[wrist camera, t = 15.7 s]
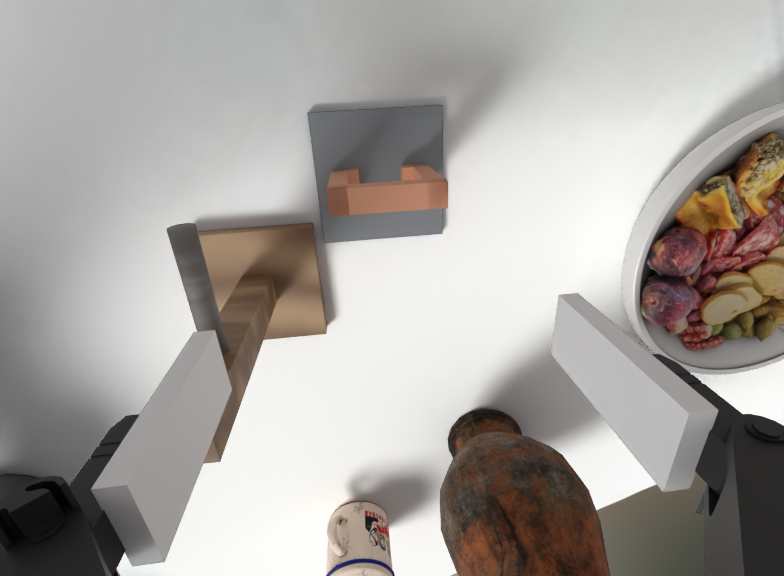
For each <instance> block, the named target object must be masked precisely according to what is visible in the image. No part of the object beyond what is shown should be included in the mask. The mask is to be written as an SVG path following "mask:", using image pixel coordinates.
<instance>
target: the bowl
mask: <svg viewBox="0 0 784 576" xmlns="http://www.w3.org/2000/svg"><path fill="white" fill-rule="evenodd" d="M622 296H623V301H624V306H625V309H626V313H627V315H628V318H629V320H630V322H631V324H632V326H633V328H634V330H635V331H636V333H637V334H638V336H639V337H640V338H641V340H642V341H643V342H644V343H645V344H646V345H647V346H648V347H649V348H650V349H651V350H652V351H653V352H654V353H655V354H661V355H663V356H665V357H667V358H669V359H671V360H673V361H675V362H677V363H678V364H679V365H681V366H682V367H683V368H685V369H686V370H687V371H690V372H695V373H701V374H731V373H738V372H744V371H749V370H753V369H757V368H760V367H763V366H766V365H769V364H772V363H775V362H777V361H780V360H782V359H784V102H783V103H779V104H776V105H773V106H770V107H767V108H764V109H761V110H759V111H756V112H754V113H752V114H749V115H747V116H745V117H743V118H741V119H739V120H737V121H735V122H733V123H731V124H730V125H728V126H726V127H725V128H723V129H721V130H720V131H718V132H717V133H715V134H714V135H712V136H711V137H709V138H708V139H706V140H705V141H704V142H702V143H701V144H700V145H698V146H697V147H696V148H695V149H694V150H692V151H691V152H690V153H689V154H688V155H687V156H686V157H684V158H683V159H682V160H681V161H680V162H679V163H678V164H677V165H676V166H675V167H674V168H673V169H672V170H671V171H670V173H669V174H668V175H667V176H666V177H665V178H664V179H663V181H662V182H661V183H660V184H659V186H658V187H657V188H656V190H655V191H654V192H653V194H652V195H651V197H650V198H649V200H648V201H647V203H646V204H645V206H644V208H643V209H642V211H641V213H640V215H639V217H638V219H637V221H636V223H635V225H634V227H633V230H632V232H631V235H630V238H629V241H628V244H627V247H626V251H625V255H624V260H623V266H622Z"/></svg>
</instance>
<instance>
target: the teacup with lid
mask: <svg viewBox="0 0 784 576" xmlns="http://www.w3.org/2000/svg"><path fill="white" fill-rule="evenodd" d="M327 534H328V551H327V572H326V576H395V575H394V572H393V570H392V562H391V551H390V540H389V529H388V519H387V515H386V513H385V512H384V510H383V509H381V508H380V507H379V506H377V505H375V504H372V503H368V502H354V503H349V504H346V505H344V506H342V507H340V508H339V509H337V510H336V511H335V512H334V513H333V514H332V516H331V518H330V520H329V523H328V529H327Z"/></svg>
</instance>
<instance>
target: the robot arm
mask: <svg viewBox="0 0 784 576" xmlns="http://www.w3.org/2000/svg"><path fill="white" fill-rule="evenodd" d="M551 354H552V356H553V357H554V358H555V359H556V361H557V362H558V363H559V364H560V366H561V367H562V368H563V369H564V370H565V372H566V373H567V374H568V375H569V377H570V378H571V379H572V380H573V382H574V383H575V384H576V385H577V386H578V388H579V389H580V390H581V391H582V393H583V394H584V395H585V396H586V398H587V399H588V400H589V401H590V402H591V404H592V405H593V406H594V407H595V409H596V410H597V411H598V412H599V414H600V415H601V416H602V417H603V418H604V420H605V421H606V422H607V423H608V425H609V426H610V427H611V428H612V430H613V431H614V432H615V433H616V434H617V436H618V437H619V438H620V439H621V441H622V442H623V443H624V444H625V446H626V447H627V448H628V449H629V450H630V452H631V453H632V454H633V455H634V457H635V458H636V459H637V460H638V462H639V463H640V464H641V465H642V466H643V468H644V469H645V470H646V471H647V473H648V474H649V475H650V476H651V478H652V479H653V480H654V481H655V482H656V484H657V485H658V486H659V487H660V489H661V490H662V491H663V492H667V491H674V490H682V489H688V488H690V487H691V484H692V481H693V478H694V475H695V473H696V472H697V473H698V475H699V476H700V477H701V478H702V479H703V480H704V481H705V482H706V483H707V485H706V488H705V490H704V493H703V496H702V498H701V501H700V504H699V506H698V508H697V511H696V513H698V514H701V513H702V511H703V509H704V576H784V426H783V425H781V424H779V423H777V422H776V421H773V420H770V419H768V418H765V417H762V416H757V415H752V414H742V413H740V412H739V411H738V410H737V409H735V408H734V407H733V406H731V405H730V404H729V403H728V402H726V401H725V400H724V399H723V398H721V397H720V396H719V395H717V394H716V393H715V392H714V391H712V390H711V389H710V388H709V387H707V386H706V385H705V384H702V383H701V381H700V380H698V379H697V378H696V377H695V376H693V375H690V372H688V371H687V370H686V369H685V368H683V367H682V366H681V365H679V364H678V363H677V362H675V361H673V360H671V359H669V358H667V357H665V356H663V355H661V354H650V353H649V352H648V351H647V350H646V349H644V348H643V347H642V346H641V345H640V344H638V343H637V342H636V341H635V340H634V339H632V338H631V337H630V336H629V335H627V334H626V333H625V332H624V331H623V330H621V329H620V328H619V327H618V326H617V325H615V324H614V323H613V322H612V321H611V320H609V319H608V318H607V317H606V316H605V315H603V314H602V313H601V312H600V311H598V310H597V309H596V308H595V307H594V306H592V305H591V304H590V303H589V302H588V301H586V300H585V299H584V298H583V297H582V296H580V295H579V294H578V293H574V294H564V295H559V296H558V304H557V312H556V319H555V327H554V334H553V342H552V350H551ZM231 391H232V388H231V384H230V381H229V377H228V374H227V370H226V367H225V363H224V360H223V356H222V353H221V349H220V346H219V342H218V339H217V335H216V332H215V330H211V331H201V332H194V333H193V334H192V336H191V337H190V339H189V340H188V342H187V343H186V345H185V346H184V348H183V349H182V351H181V352H180V354H179V355H178V357H177V358H176V360H175V362H174V363H173V365H172V366H171V368H170V369H169V371H168V372H167V374H166V375H165V377H164V378H163V380H162V381H161V383H160V384H159V386H158V387H157V389H156V391H155V392H154V394H153V395H152V397H151V398H150V400H149V401H148V403H147V404H146V406H145V407H144V409H143V410H142V412H141V413H140V414H139V415H130V416H126V417H124V418H123V419H122V420H121V421H120V422H118V423H117V424H116V425H115V426H114V427H112V428H111V429H110V430H109V432H108V433H107V434H106V436H105V437H104V439H103V440H102V441H101V443H100V446H99V447H97V448H96V450H95V451H94V453H93V454H92V455H91V459H89V460H88V461H87V462H86V464H85V465H84V467H83V468H82V469H81V471H80V472H79V474H78V475H77V476H76V478H75V479H74V481H73V482H72V483H71V485H70V486H68V484H67V482H66V481H65V480H64V479H63V478H62V477H56V476H49V477H44V478H39V479H38V478H34V477H29V476H22V475H0V576H120V574H119V573H118V571H117V569H116V568H117V566H118V564H119V562H120V560H121V558H122V556H123V554H124V552H125V553H126V555H127V557H128V559H129V561H130V563H131V564H132V566H139V565H146V564H153V563H160V562H165V559H166V557H167V554H168V552H169V549H170V547H171V544H172V542H173V539H174V536H175V534H176V531H177V529H178V526H179V524H180V521H181V519H182V516H183V513H184V511H185V508H186V506H187V503H188V501H189V498H190V496H191V493H192V491H193V488H194V485H195V483H196V480H197V478H198V475H199V473H200V470H201V468H202V465H203V462H204V460H205V457H206V455H207V452H208V450H209V447H210V445H211V442H212V440H213V437H214V434H215V432H216V429H217V427H218V424H219V422H220V419H221V417H222V414H223V411H224V409H225V406H226V404H227V401H228V399H229V396H230V394H231Z"/></svg>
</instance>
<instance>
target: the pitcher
mask: <svg viewBox="0 0 784 576" xmlns="http://www.w3.org/2000/svg"><path fill="white" fill-rule="evenodd" d="M448 446H449V451H450V453H451V455H452V456H453V460H452V462H451V464H450V466H449V469H448V471H447V474H446V477H445V479H444V482H443V484H442V487H441V490H440V514H441V531H442V534H443V538H444V541H445V543H446V546H447V548H448V551H449V553H450V556H451V558H452V561H453V563H454V566H455V569H456V571H457V573H458V575H459V576H610V571H609V567H608V562H607V556H606V550H605V545H604V539H603V534H602V528H601V522H600V520H599V517H598V514H597V512H596V509H595V506H594V504H593V501H592V498H591V496H590V493H589V490H588V489H587V487H586V486H585V485H584V483H583V482H582V480H581V479H580V478H579V476H578V475H577V474H576V472H575V471H574V470H573V468H572V467H571V466H570V465H569V463H568V462H567V461H566V459H565V458H564V457H563V455H562V454H560V453H559V452H557V451H556V450H554V449H553V448H552V447H550V446H548V445H545V444H543V443H541V442H538V441H536V440H534V439H531V438H529V437H526V436H522V434H521V430H520V428H519V426H518V424H517V423H516V422H515V421H514V420H513V419H512V418H511V417H510V416H509V415H507V414H505V413H503V412H500V411H496V410H485V409H484V410H479V411H474V412H471V413H469V414H467V415H465V416H463V417H462V418H460V419H459V420H458V421H457V422H456V423H455V424H454V426H453V427H452V428H451V430H450V433H449V436H448Z"/></svg>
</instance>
